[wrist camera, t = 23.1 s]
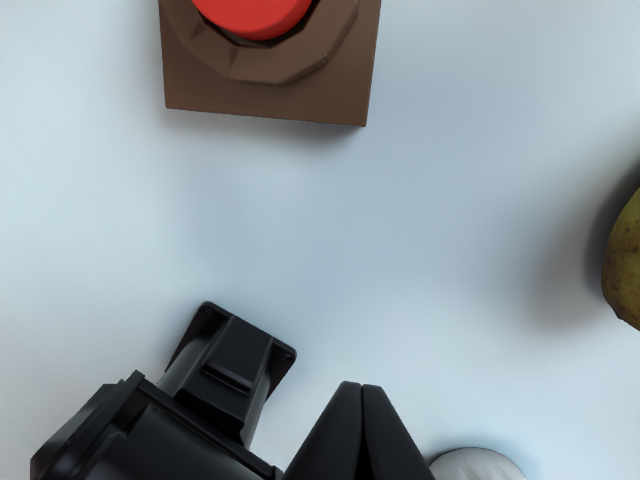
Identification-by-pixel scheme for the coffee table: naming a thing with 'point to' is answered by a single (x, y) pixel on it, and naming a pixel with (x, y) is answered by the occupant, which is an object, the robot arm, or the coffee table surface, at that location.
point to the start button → (254, 16)
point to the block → (273, 64)
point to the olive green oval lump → (624, 264)
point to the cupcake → (475, 466)
